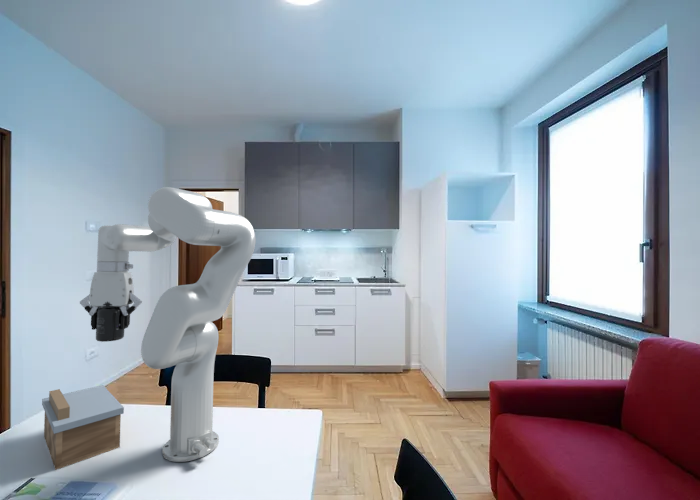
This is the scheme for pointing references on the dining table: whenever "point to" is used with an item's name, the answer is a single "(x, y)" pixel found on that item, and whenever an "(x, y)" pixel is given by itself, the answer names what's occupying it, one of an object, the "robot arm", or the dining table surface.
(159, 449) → the dining table surface
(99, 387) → the toolbox lid
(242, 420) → the dining table surface
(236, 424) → the dining table surface
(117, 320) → the supplement bottle
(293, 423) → the dining table surface
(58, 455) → the toolbox
